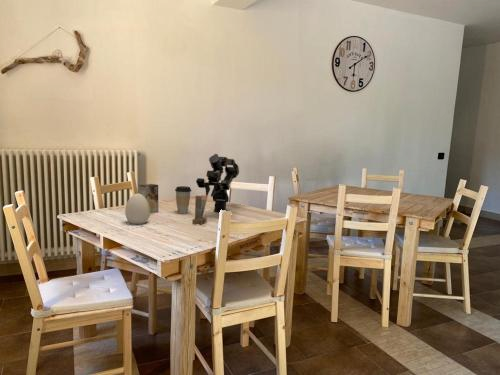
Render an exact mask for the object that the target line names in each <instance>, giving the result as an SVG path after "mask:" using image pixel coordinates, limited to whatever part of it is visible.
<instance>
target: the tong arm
mask: <svg viewBox="0 0 500 375" xmlns="http://www.w3.org/2000/svg"><path fill="white" fill-rule="evenodd" d="M200 196H202V205H201V218H203V217H204V213H205V210H206V204H207V202H208V196H209V195H208V196H206V195H205V194H204V195H200Z"/></svg>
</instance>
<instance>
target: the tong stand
mask: <svg viewBox="0 0 500 375" xmlns="http://www.w3.org/2000/svg"><path fill="white" fill-rule="evenodd" d="M194 200H195V203H194V206H195V209H194V215H195V216H194V218H192V225H196V224H199V225H198V226H203V225H204V224H206V223H207V221H208V220H207V218H208V217H204V216H203V218H201V205H202V196H201V195H195V199H194ZM205 222H206V223H205ZM203 223H204V224H203Z"/></svg>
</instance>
